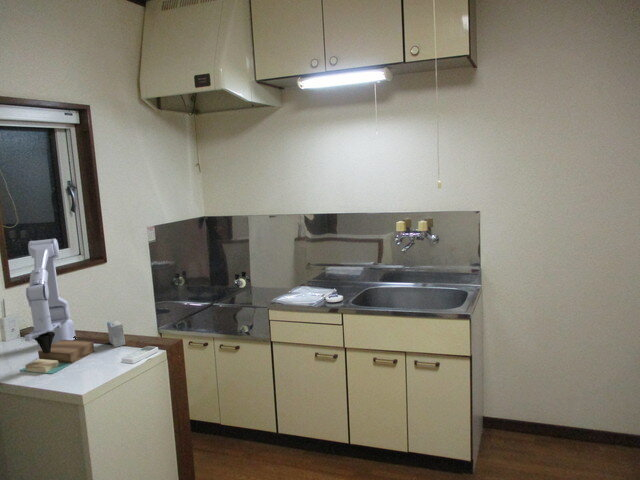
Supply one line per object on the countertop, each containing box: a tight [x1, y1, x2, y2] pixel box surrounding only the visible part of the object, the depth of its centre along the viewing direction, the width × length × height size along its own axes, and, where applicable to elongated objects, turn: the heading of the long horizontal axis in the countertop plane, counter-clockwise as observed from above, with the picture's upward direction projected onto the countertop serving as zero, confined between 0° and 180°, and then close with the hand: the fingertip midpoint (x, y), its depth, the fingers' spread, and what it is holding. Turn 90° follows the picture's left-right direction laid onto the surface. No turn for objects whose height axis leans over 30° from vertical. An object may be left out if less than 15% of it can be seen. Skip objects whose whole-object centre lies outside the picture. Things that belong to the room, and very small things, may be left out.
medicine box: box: [106, 319, 126, 348], centre depth 210 cm, size 8×4×9 cm, turn 34°
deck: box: [37, 339, 95, 365], centre depth 200 cm, size 12×15×4 cm
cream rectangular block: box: [24, 358, 59, 374], centre depth 189 cm, size 6×9×2 cm, turn 72°
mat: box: [19, 362, 72, 375], centre depth 191 cm, size 9×15×1 cm, turn 72°
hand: (46, 352), depth 191 cm, fingers closed
